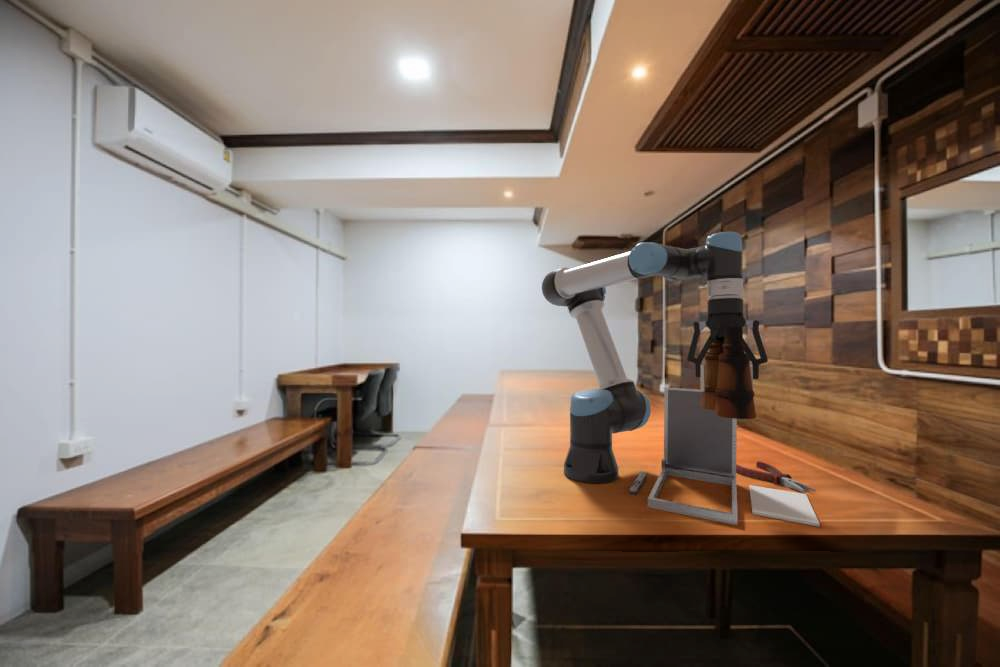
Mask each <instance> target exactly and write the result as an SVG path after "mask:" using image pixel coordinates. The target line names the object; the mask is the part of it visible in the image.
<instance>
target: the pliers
mask: <svg viewBox="0 0 1000 667" xmlns="http://www.w3.org/2000/svg"><path fill="white" fill-rule="evenodd" d="M756 468H758V469H760V470H756V469H752V468H748V467H744V466H742V465H739V464H738V463H736V474H739V475H741V476H744V477H748V478H752V479H756V480H761V481H765V482H769V483H773V485H774V486H775V485H776V486H777V485H782V486H784V487H787V488H789V489H791V490H792V489H793V490H795V491H799V492H800V493H803V494H807V491H809V492H816V490H815V489H814V488H812V487H809V486H807V485H805V484H803V483H801V482H799V481H797V480H795V479H793V478H792V476H791V475H790V474H789V473H783V472H781V471H780V470H779V469H778V468H776V466H773V465H771V464H769V463H765V462H763V461H756ZM761 470H763V471H761Z"/></svg>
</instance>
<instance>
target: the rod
mask: <svg viewBox="0 0 1000 667" xmlns="http://www.w3.org/2000/svg"><path fill="white" fill-rule="evenodd" d="M646 477H647V473H646V472H645V471H640V472H639V474H638V476H637V477H636V478H635V479H634V481H633V483H632V484H631V487H629V489H628V493H629V494H630V495H633V494H634V495H633V496H636V495H637V493H638V491H639V490H640V487H641V486H642V485H643V483H644V481H645V479H646Z"/></svg>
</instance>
